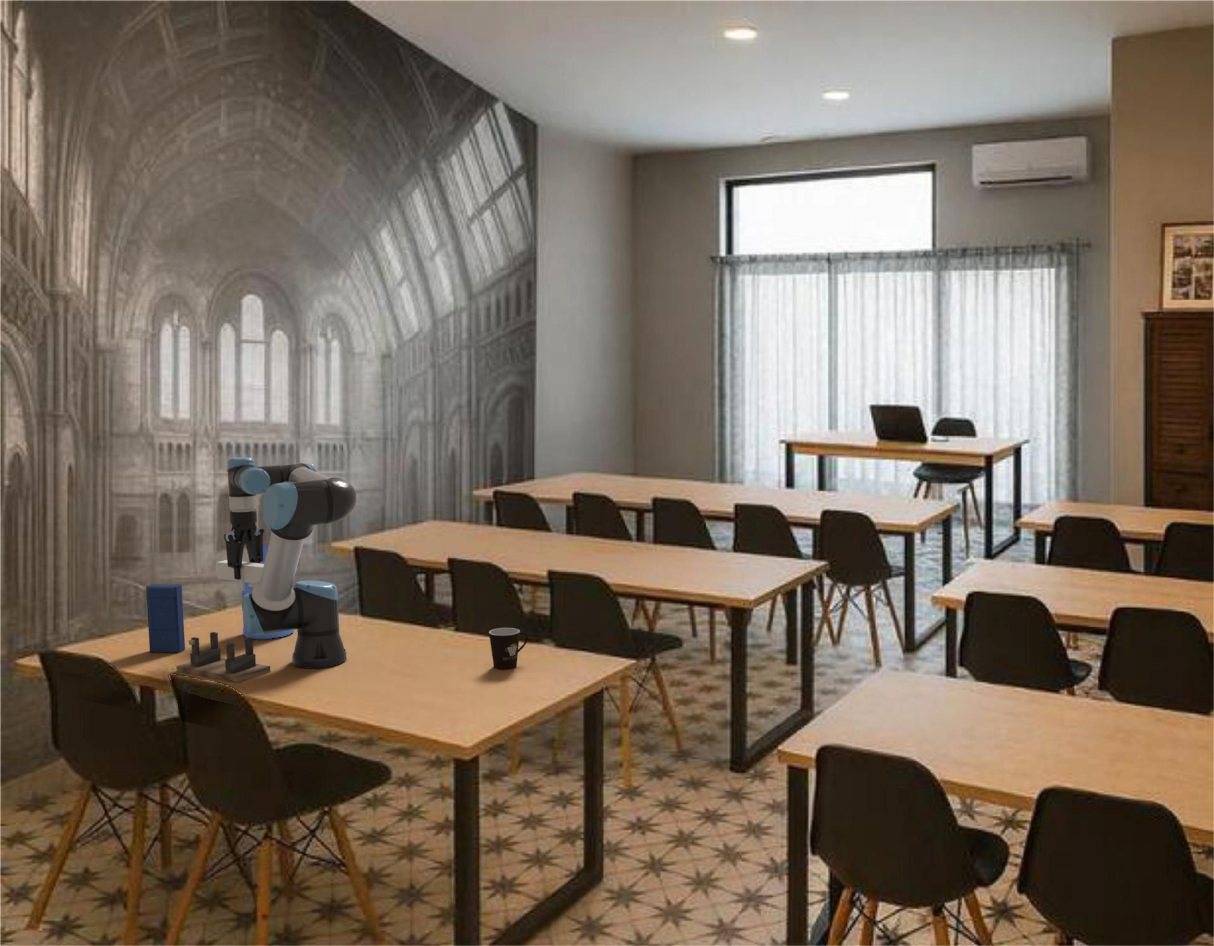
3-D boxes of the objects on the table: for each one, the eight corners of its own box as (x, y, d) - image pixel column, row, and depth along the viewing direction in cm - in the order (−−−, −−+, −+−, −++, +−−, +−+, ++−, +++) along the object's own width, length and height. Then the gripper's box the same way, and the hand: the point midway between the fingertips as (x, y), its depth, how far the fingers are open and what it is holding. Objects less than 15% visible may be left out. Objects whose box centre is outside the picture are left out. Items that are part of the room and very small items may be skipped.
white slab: (275, 582, 332) (275, 565, 331) (265, 584, 328) (264, 567, 328) (227, 576, 342) (227, 559, 341) (217, 578, 338) (216, 561, 338)
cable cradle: (270, 671, 317) (268, 638, 316) (237, 682, 306) (235, 648, 305) (210, 660, 328) (209, 628, 327) (176, 671, 318) (174, 638, 317)
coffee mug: (492, 672, 313) (491, 636, 312) (487, 663, 321) (486, 629, 320) (534, 668, 316) (533, 633, 315) (527, 660, 324) (527, 626, 323)
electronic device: (186, 648, 343) (183, 583, 341) (178, 653, 338) (175, 587, 336) (156, 648, 344) (153, 583, 342) (148, 652, 339) (144, 587, 336)
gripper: (256, 505, 342) (259, 581, 345) (210, 513, 327) (215, 592, 330) (274, 507, 338) (277, 584, 341) (229, 514, 324) (233, 595, 326)
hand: (246, 588), depth 335 cm, fingers closed on white slab, 4 cm apart
